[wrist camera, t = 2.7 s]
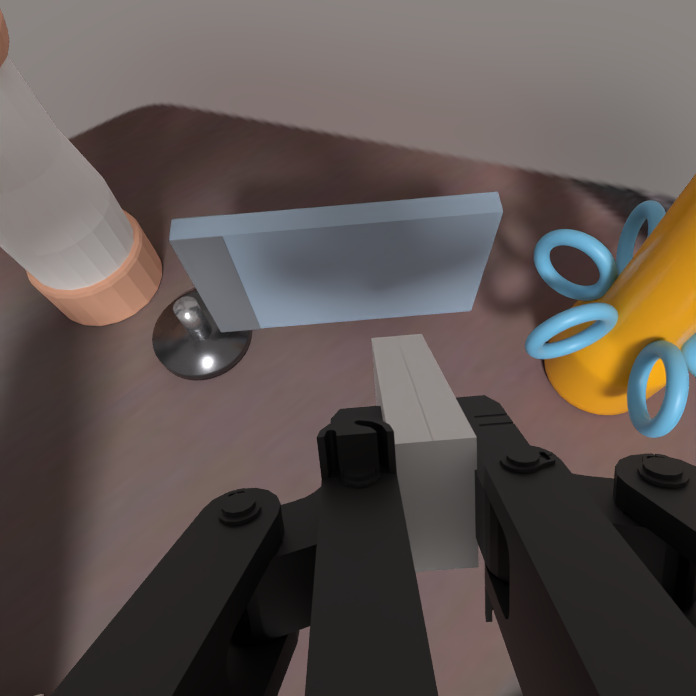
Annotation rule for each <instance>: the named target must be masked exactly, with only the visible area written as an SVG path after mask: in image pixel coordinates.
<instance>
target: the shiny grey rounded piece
mask: <svg viewBox="0 0 696 696" xmlns="http://www.w3.org/2000/svg"><path fill="white" fill-rule="evenodd" d="M251 336H252V330H243V331H231V332H221V331H220V329H219V328H218V326H217V324H216V322H215V321H214V319H213V317H212V315H211V314H210V312H209V310H208V308H207V307H206V305H205V303H204V301H203V300H202V298H201V296H200V294H199V293H198V291H196V292H192V293H189V294H186V295H184V296H182V297H180V298H178V299H177V300H175V301H174V302H172V303H171V304H170V305H169V306H168V307H167V308H166V309H165V310H164V311H163V312H162V314H161V315H160V317H159V318H158V320H157V322H156V324H155V327H154V331H153V339H152V341H153V348H154V351H155V353H156V356H157V357H158V359H159V360H160V361H161V362H162V364H163V365H164V366H165V367H166V368H167V369H168V370H169V371H170V372H172V373H173V374H175V375H177V376H179V377H181V378H184V379H188V380H206V379H211V378H214V377H217V376H220V375H222V374H224V373H226V372H227V371H229V370H230V369H232V368H233V367H234V366H235V365H236V364H237V363H238V362H239V361H240V360H241V359H242V358H243V356H244V355H245V353H246V351H247V350H248V347H249V345H250V341H251Z"/></svg>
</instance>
